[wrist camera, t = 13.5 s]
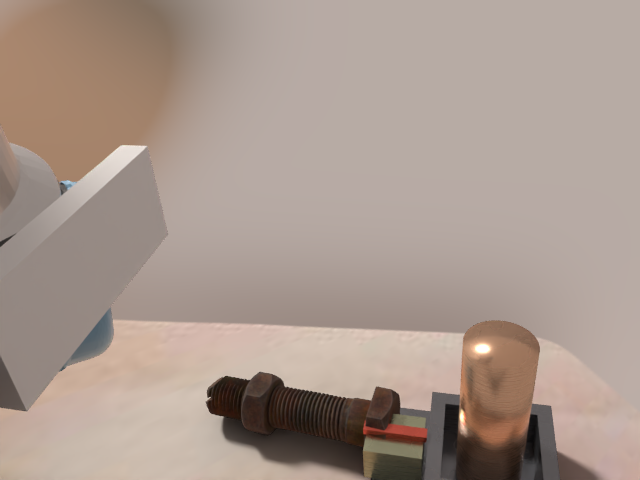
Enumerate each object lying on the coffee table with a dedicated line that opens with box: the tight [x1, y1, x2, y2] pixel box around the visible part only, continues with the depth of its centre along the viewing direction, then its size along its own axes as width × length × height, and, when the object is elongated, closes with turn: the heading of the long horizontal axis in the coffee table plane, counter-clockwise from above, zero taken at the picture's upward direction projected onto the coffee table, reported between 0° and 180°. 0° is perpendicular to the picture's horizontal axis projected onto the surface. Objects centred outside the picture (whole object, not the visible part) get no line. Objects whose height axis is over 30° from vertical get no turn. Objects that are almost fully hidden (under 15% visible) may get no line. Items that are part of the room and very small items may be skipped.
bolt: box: [206, 372, 400, 447], centre depth 47 cm, size 6×5×15 cm
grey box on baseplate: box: [363, 392, 560, 480], centre depth 42 cm, size 13×10×4 cm
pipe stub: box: [456, 321, 540, 480], centre depth 39 cm, size 4×4×12 cm
